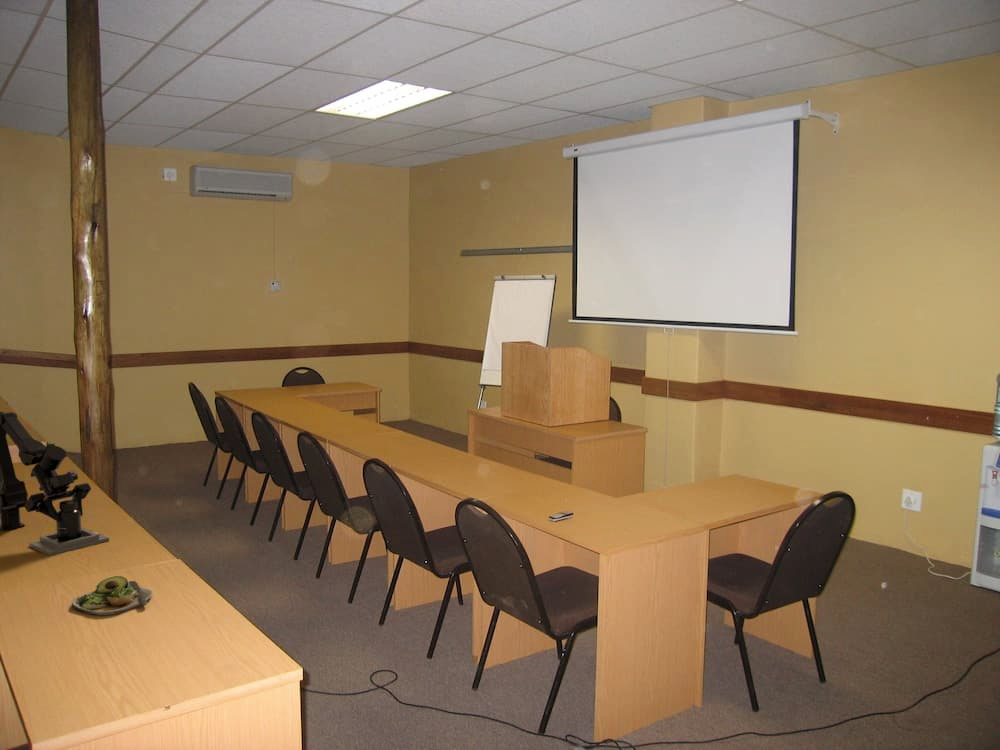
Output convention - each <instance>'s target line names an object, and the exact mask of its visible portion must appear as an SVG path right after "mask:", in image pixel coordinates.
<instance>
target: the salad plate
mask: <svg viewBox="0 0 1000 750" xmlns="http://www.w3.org/2000/svg"><path fill="white" fill-rule="evenodd" d="M95 587H96V588H95V590H94V591H91V592H87V593H84V594H81V595H78V596H76V597H75V598H74V599H72V601H71V605H72V607H73V609H75V610H76V611H78V612H79V611H80V612H83V613H86V614H92V615H97V616H111V615H118V614H121V613H124V612H127V611H129V610H132V609H135V608H138V607H140V606H146V605H148V600H150V599H151V598H152V596H153V591H152V590H151V589H148V588H144V587H141V586H139V584H138V582H137V581H136V580H131V581H128V579H127V577H124V576H121V575H115V576H110V577H107V578H104V579H102V580H101V581H99V583H98V584H97V585H96V586H95ZM107 607H108V608H111V607H112V608H113V607H114V608H116V609H110V610H97V609H102V608H107Z"/></svg>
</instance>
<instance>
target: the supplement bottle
mask: <svg viewBox="0 0 1000 750" xmlns="http://www.w3.org/2000/svg"><path fill="white" fill-rule="evenodd" d="M58 505H59V507H58V509H59V510H58V511H57V513H58V515H59V517H60V519H61V521H60V522H57V521H56V520H55V521H56V523H55V524H56V529H55V530H56V533H57V540H58V541H60V542H66V541H70V540H74V539H78V538H81V527H82V518H81V517H82V516H81V512H80V510H79V509H76V508H77V501H75V500H71V499H69V500H67V499H66V500H61V501H59V502H58Z"/></svg>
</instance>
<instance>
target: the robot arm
mask: <svg viewBox="0 0 1000 750" xmlns="http://www.w3.org/2000/svg"><path fill="white" fill-rule="evenodd" d="M7 435H8V436H9V438H10V439H11V441H12V442H13V443H14V444H15V445H16V447H17V448H18V457H19V459H20V462H21V463H22V464H23V465H24V466H27V467H29V466H33V467H32V469H31V471H30V472H31V473H30V478H35V480H36V481H37V482H38V484H39V488H38V489H39V491H40V492H39V493H35V494H30V496H29V493H28V490H27V488H26V483H25V482H24V480H20V479H18V478H17V476H16V475H17V474H16V472H15V467H14V463H13V460H12V455H11V451H10V447H9V443H8V439H7ZM66 456H67V451H66V449H63V447H61V446H58V445H55V443H54V442H53V443H50V444H49V443H47V445H45V444H44V443H43V442H42V441H38V440H37V439H34V438H33V437H32V435H30V433H29V432H28V430H27V429H26V428H25V427H24V425H23V424H22V423H21V422H20V420H19V418H18V415H17V413H15V412H12V411H10V412H4V411H2V410H1V411H0V530H2V531H7V530H12V529H13V530H14V529H17V528H21V527H26V524H25V523H22V522H21V509H22V508H24V509H25V510H26V512H27V513H31V512H36V513H40V514H43V515H44V516H47V517H49V518H50V519H52V520H54V521H57V522H60V521H61V519H60V517H59V515H58V513H57V512H58V511H57V510H56V508H55V507H54V505H53V504H54V503H53V501H54V502H55V501H58V500H63V499H67V498H70V500H75V501H77V508H76V509H79V510H80V512H81V517H82V516H83V504H82V503H83V502H82V501H83V500H84V499H85V498H87V496H88V494H89V493H90V492H91V490H92V487H91V485H90V484H89V483H88V482H84V483H80V484H79V483H78V484H76V485H75V486H74V487H73V489H72V490H68V489H70V485H71V484H74V483H75V481H78V479H79V475H78V473H77V472H76V470H69V471H67V472H66V473H64V474H58V473H57V471H56V470H58V469H59V468H60V467H61V465H62V463H63V462H64V461H65V458H66ZM34 465H35V466H34Z"/></svg>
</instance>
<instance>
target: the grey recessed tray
mask: <svg viewBox="0 0 1000 750" xmlns="http://www.w3.org/2000/svg"><path fill="white" fill-rule="evenodd" d="M106 542H110V537H108V536H106V535H104V534H101V532H97V531H94V530H92V529H87V528H84V527H82V526H81V538H78V539H74V540H70V541H66V542H60V541H58V540H57V532H54V533H49V534H45V535H42V536H39V540H37V541H33V542H29V547H31V548H33V549H35V550H37V551H38V552H40V553H43V554H45V555H47V556H53V555H57V554H62V553H65V552H69V551H70V552H71V551H74V550H78V549H81V548H85V547H90V546H94V545H98V544H101V543H106Z"/></svg>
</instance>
